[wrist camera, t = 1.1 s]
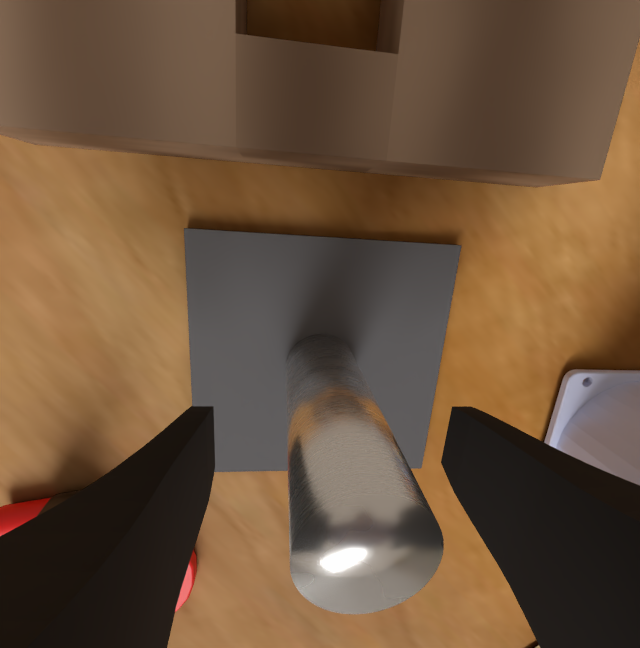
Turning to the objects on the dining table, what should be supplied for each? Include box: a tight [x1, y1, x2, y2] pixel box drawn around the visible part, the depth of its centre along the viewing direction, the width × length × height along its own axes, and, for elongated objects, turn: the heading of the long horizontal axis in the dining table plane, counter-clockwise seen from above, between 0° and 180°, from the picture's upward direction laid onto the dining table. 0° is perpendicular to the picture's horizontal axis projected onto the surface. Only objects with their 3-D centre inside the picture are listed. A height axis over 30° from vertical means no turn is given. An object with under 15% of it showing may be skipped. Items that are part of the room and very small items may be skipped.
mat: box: [184, 228, 461, 472], centre depth 15 cm, size 11×11×1 cm
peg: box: [286, 334, 443, 614], centre depth 11 cm, size 3×3×9 cm
